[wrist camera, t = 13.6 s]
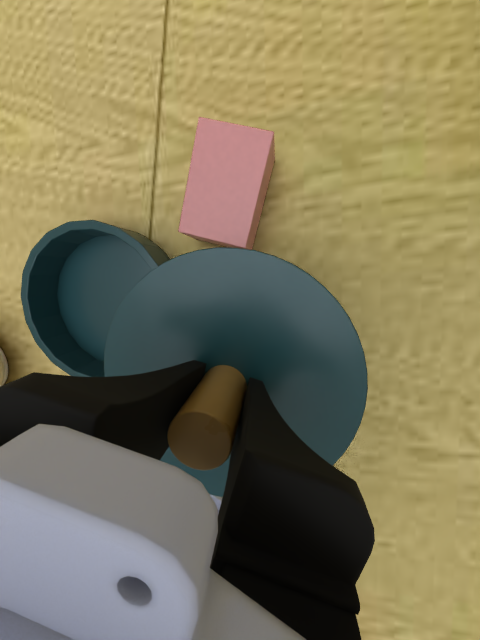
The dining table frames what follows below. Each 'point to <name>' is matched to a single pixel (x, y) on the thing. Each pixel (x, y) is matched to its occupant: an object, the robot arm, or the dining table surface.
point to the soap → (227, 183)
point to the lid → (242, 352)
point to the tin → (82, 289)
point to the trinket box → (3, 368)
